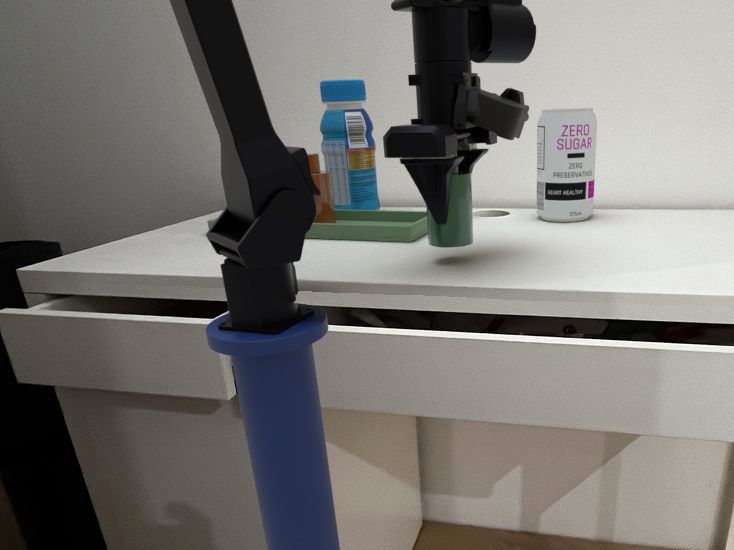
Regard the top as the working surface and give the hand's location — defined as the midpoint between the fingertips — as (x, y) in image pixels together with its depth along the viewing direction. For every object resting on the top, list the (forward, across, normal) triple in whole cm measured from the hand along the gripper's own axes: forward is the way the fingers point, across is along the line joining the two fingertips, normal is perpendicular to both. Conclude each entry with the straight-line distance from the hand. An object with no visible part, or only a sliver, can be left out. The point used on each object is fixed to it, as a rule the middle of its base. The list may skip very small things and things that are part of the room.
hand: (449, 219), depth 68 cm
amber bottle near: (+4, +14, +25) cm, 29 cm away
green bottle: (+2, 0, 0) cm, 2 cm away
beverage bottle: (+5, +27, +26) cm, 38 cm away
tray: (+5, +14, +24) cm, 28 cm away
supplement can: (+5, +28, -8) cm, 29 cm away
